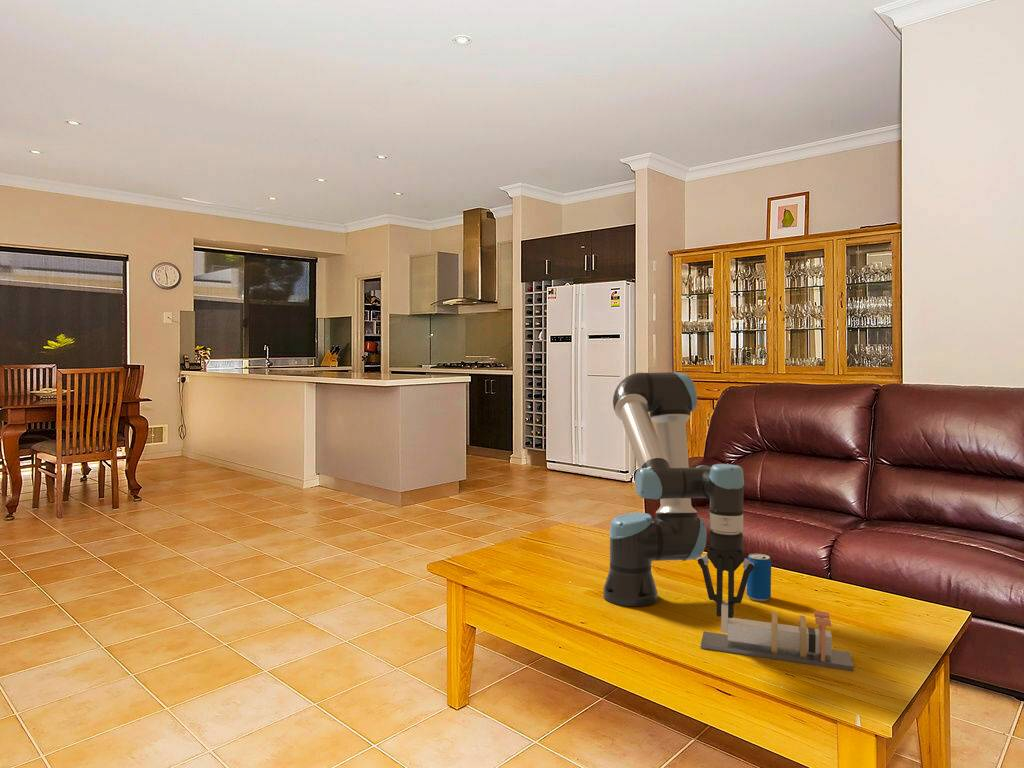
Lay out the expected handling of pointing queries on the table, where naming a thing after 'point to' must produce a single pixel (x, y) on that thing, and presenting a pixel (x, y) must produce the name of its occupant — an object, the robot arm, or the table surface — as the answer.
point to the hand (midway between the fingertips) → (724, 630)
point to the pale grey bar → (785, 635)
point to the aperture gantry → (822, 628)
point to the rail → (773, 652)
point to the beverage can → (759, 578)
